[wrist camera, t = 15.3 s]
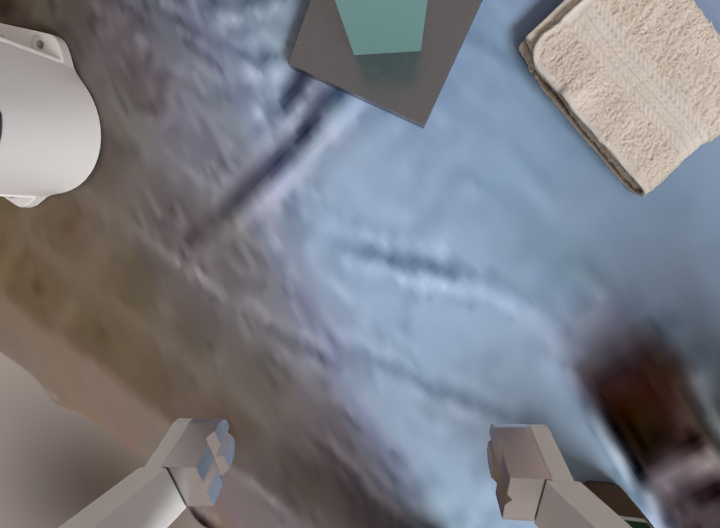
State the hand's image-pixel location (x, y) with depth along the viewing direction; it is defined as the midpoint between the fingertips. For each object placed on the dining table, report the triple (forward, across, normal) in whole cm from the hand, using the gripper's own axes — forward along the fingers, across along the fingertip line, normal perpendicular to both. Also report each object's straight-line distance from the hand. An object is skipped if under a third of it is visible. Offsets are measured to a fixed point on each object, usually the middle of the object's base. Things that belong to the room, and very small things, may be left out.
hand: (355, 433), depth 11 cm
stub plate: (+32, -1, -15) cm, 35 cm away
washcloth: (+30, -22, -8) cm, 39 cm away
